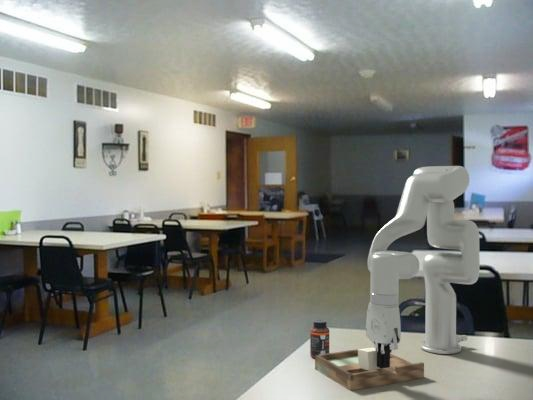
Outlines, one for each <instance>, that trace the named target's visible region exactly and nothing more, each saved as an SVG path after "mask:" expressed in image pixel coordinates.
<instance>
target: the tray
mask: <svg viewBox="0 0 533 400" xmlns="http://www.w3.org/2000/svg"><path fill="white" fill-rule="evenodd" d="M371 347H372V346H371ZM371 347H370V346H369V347H368V348H371ZM373 347H374V348H375V346H373ZM364 348H365V347H363V348H361V349H364ZM358 349H359V348H357V349H356V348H355V349H350V350H349V349H347V350H342V351H337V352H336V351H335V352H329V353H328V354H321V355H315V358H314V369H315V370H316V371H318V372H319V373H321V374H323V375H324V376H326V377H328V378H329V379H331V380H333V381H334V382H336V383H337V384H339V385H341V386H342V387H344V388H346V389H347V390H349V391H350V392H351V391H356V390H361V389H368V388H373V387H377V386H384V385H389V384H390V385H391V384H395V383H399V382H400V383H401V382H406V381H407V382H408V381H411V380H418V379H423V378H425V363H424V362H422V361H421V362H415V363H412V362H410V361H408V360H405V359H404V358H401V357H399V356H397V355H394V354H393V353H390V367H389V368H383V369H376V370H370V371H368V370H365V369H362V368H359V361H358Z"/></svg>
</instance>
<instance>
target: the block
mask: <svg viewBox="0 0 533 400" xmlns="http://www.w3.org/2000/svg"><path fill="white" fill-rule="evenodd" d="M374 347H375V346H371V348H369V347H363V348H364V349H362V348H357V349H358V361H359V368H362V369H365V370H368V371H370V370H376V369H381V368H379V367H377V352H376V350H375V348H374ZM382 369H383V368H382Z"/></svg>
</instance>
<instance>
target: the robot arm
mask: <svg viewBox="0 0 533 400" xmlns="http://www.w3.org/2000/svg"><path fill="white" fill-rule="evenodd" d="M469 185H470V174H469V172H468V170H467V168H465V167H464V166H461V165H435V166H433V165H432V166H421V167H418V168H416V169H415V170H414V171H413V172H412V175H410V176H409V177H408V178H407V179H406V181H405V184H404V187H403V189H402V193H401V196H400V197H401V198H400V200H399V203H398V207H397V210H396V214H395V216H394V217H393V218H392V219H390V220H389V221H388V222H387V223H386V224H384V226H383V227H382V228H380V230H379V231H377V233H376V234H375V236H374V238H373V239H372V242H371V246H370V248H369V252H368V256H367V269H368V271H369V272H370V277H369V278H370V282H369V283H370V288H369V293H370V294H369V295H370V296H369V302H368V306H367V312H366V319H365V321H366V322H365V336H366V337H367V339H368V340H370V341H371V343H373V345H374V347H375V350H376V352H377V367H379V368H381V369H382V368H389V367H390V354H392V353H393V351H395V350H399V348H398V347H399V346H398V344H399V343H400V342H401V335H402V334H401V333H402V332H401V329H402V328H401V325H402V324H401V316H400V315H401V314H400V307H399V292H400V291H399V284H400V283H399V282H400V281H399V280H410V279H412V278H414V277H415V276H417V274H418V272H419V270H420V260H419V259H418V257H417V256H416V254H414V253H412V252H409V251H408V252H407V251H400V250H399V251H397V250H387V249H388V247H389V246H390V245H391V244H392V243H393V242H395V241H396V240H398V239H399V238H401V237H403V236H407V235H409V234H412V233H415V232H416V231H419V230H421V229H422V228H424V226H425V224H426V236H427V242H428V244H429V245H430V246H431V247H434V248H435V249H436V248H438V249H446V250H459V251H460V252H461V253H455V252H447V251H442V252H441V251H434V252H430V253H427V254H426V255H425V256H424V258H423V261H422V271H423V277H424V284H425V286H424V287H425V288H424V289H425V330H424V331H425V332H424V333H425V335H424V336H425V340H424V341H422V342H420V348H421V350H423V351H426V352H428V353H431V354H432V353H433V354H439V355H451V354H453V355H454V354H458V353H460V352H461V350H462V347H461V345H460V344H459V343H460V342H466V341H467V340H468V336H467V335H466V334H462V335H459V334H457V294H456V292H455V290H454V288H453V287H452V285H451V283H452V284H459V285H460V284H461V285H473V284H475V283H477V281H478V280H479V277H480V232H479V228H478V226H477V224H476V222H474V221H472V220H469V219H456V217H455V202H454V200H455V199H457V198H458V197H459V196H461V195H463V194H464V193H465V192H466V191H467V190H468V187H469Z"/></svg>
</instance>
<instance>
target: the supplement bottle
mask: <svg viewBox="0 0 533 400" xmlns="http://www.w3.org/2000/svg"><path fill="white" fill-rule="evenodd" d="M312 324H313V326H312V327H311V328H310V333H309V335H310V337H309V339H310V346H309V347H310V351H309V353H310V354H309V355H310V357H311V358H313V359H315V355H321V354H328V353H330V328H329V327H328V326H327V320H325V319H315V320H313V323H312Z"/></svg>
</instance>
